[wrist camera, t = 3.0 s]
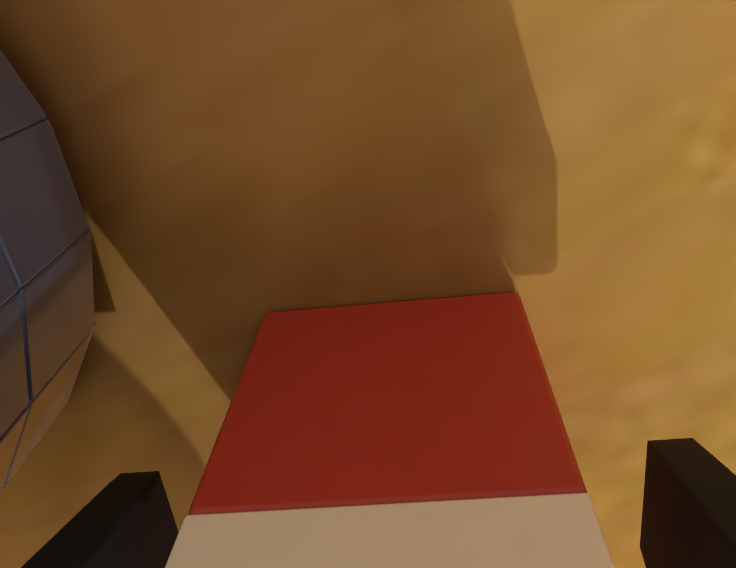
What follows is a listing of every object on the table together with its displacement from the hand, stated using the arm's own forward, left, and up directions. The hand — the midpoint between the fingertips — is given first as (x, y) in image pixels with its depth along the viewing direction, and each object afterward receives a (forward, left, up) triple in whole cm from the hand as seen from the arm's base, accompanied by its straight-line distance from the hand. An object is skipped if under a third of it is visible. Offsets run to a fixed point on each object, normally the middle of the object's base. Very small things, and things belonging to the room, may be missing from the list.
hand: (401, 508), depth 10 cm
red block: (0, 0, -3) cm, 3 cm away
